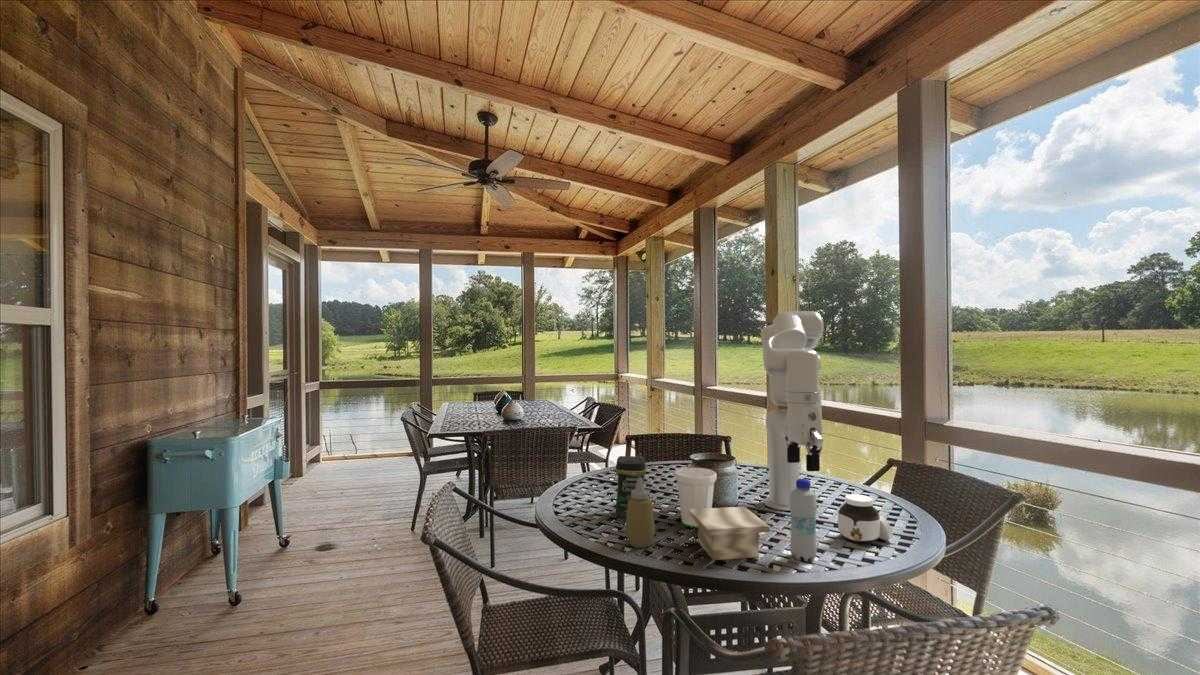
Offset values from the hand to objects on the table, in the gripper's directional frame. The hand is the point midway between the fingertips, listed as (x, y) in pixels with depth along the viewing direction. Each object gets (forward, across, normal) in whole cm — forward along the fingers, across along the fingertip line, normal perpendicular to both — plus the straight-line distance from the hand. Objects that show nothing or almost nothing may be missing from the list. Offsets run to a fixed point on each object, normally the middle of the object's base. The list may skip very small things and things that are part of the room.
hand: (802, 466), depth 137 cm
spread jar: (+23, +10, -23) cm, 34 cm away
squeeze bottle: (+23, +16, +39) cm, 48 cm away
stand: (+23, +9, +17) cm, 30 cm away
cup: (+23, +30, +19) cm, 42 cm away
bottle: (+23, +1, 0) cm, 23 cm away
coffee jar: (+23, +40, +37) cm, 59 cm away
